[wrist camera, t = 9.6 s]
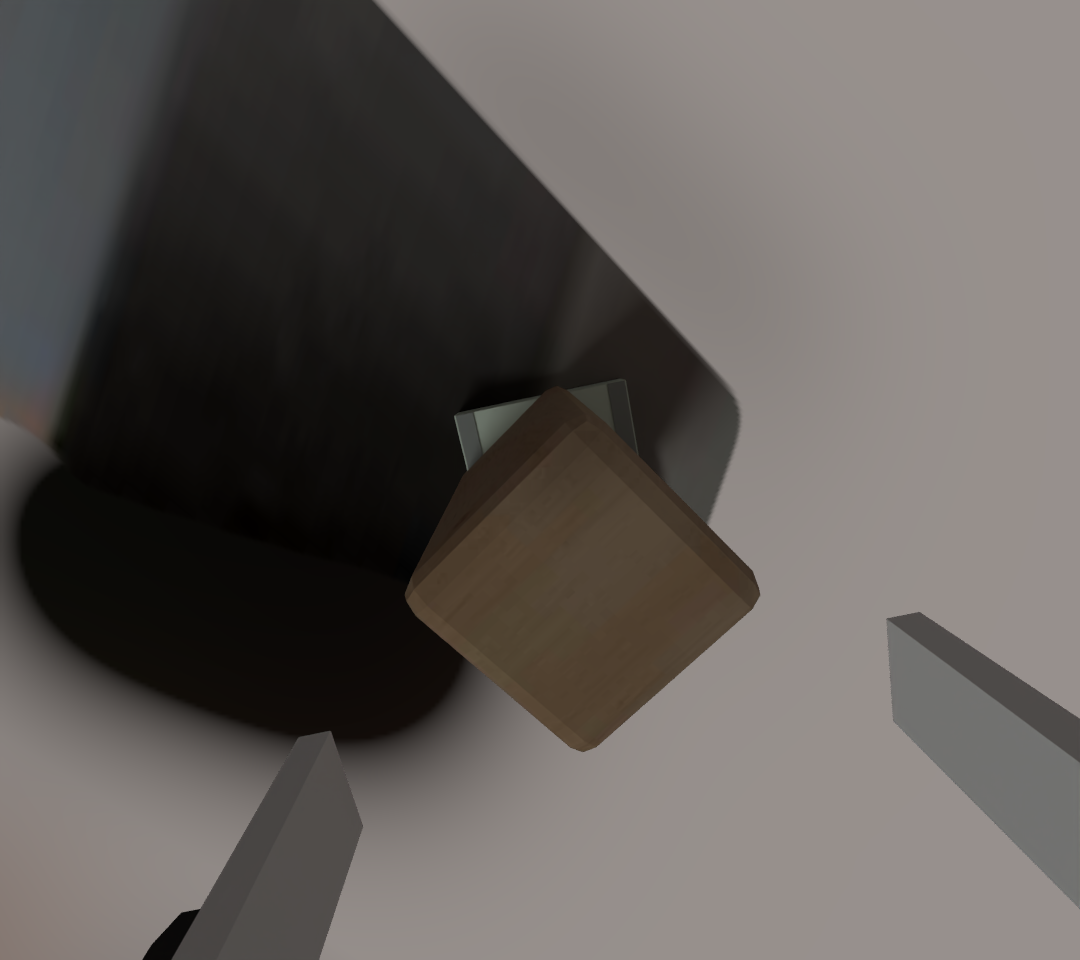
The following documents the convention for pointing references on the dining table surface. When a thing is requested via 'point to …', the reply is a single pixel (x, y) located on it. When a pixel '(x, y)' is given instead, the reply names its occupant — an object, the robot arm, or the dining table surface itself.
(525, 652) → the wooden block
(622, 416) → the dock
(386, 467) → the dining table surface
